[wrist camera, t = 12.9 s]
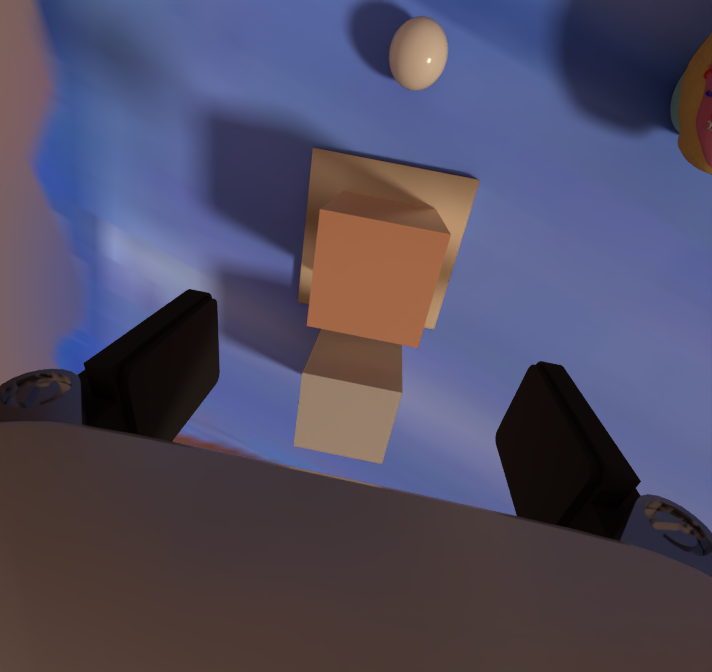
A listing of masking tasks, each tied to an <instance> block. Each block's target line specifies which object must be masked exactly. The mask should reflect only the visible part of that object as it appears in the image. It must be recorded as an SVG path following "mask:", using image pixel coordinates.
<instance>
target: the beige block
mask: <svg viewBox="0 0 712 672" xmlns="http://www.w3.org/2000/svg"><path fill="white" fill-rule="evenodd" d="M401 396H402V345H400V344H395V343H390V342H385V341H380V340H375V339H370V338H365V337H360V336H355V335H350V334H345V333H340V332H335V331H330V330H325V329H321V331H320V333H319V335H318V338H317V340H316V342H315V345H314V347H313V349H312V352H311V354H310V356H309V359H308V361H307V363H306V366H305V368H304V370H303V373H302V381H301V389H300V398H299V407H298V415H297V424H296V432H295V441H294V446H297V447H302V448H307V449H312V450H316V451H321V452H326V453H331V454H336V455H341V456H346V457H351V458H355V459H360V460H365V461H370V462H375V463H380V464H382V462H383V458H384V455H385V451H386V448H387V445H388V441H389V438H390V434H391V431H392V427H393V424H394V420H395V417H396V413H397V410H398V406H399V403H400V400H401Z"/></svg>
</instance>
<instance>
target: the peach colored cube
mask: <svg viewBox="0 0 712 672" xmlns="http://www.w3.org/2000/svg"><path fill="white" fill-rule="evenodd" d="M450 236H451V234H450V232H449V230H448V228H447V227H446V225H445V223H444V222H443V220H442V218H441V217H440V215H439V213H438V212H437V210H436V209H433V208H428V207H423V206H417V205H412V204H407V203H402V202H397V201H392V200H386V199H381V198H376V197H371V196H366V195H361V194H355V193H350V192H345V191H342V192H341V193H340V194H338V195H337V196H336V197H335V198H333V199H332V200H331V201H330V202H328V203H327V204H326V205H324V206H323V207H322V208H321V209H320V213H319V222H318V231H317V239H316V248H315V257H314V266H313V275H312V283H311V292H310V301H309V310H308V319H307V326H310V327H315V328H320V329H325V330H330V331H335V332H340V333H345V334H350V335H355V336H360V337H365V338H370V339H375V340H380V341H385V342H390V343H395V344H400V345H405V346H410V347H415V348H418V346H419V343H420V339H421V336H422V332H423V329H424V326H425V322H426V319H427V315H428V312H429V308H430V305H431V302H432V298H433V295H434V291H435V288H436V284H437V281H438V278H439V274H440V271H441V267H442V264H443V260H444V257H445V254H446V250H447V247H448V243H449V240H450Z"/></svg>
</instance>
